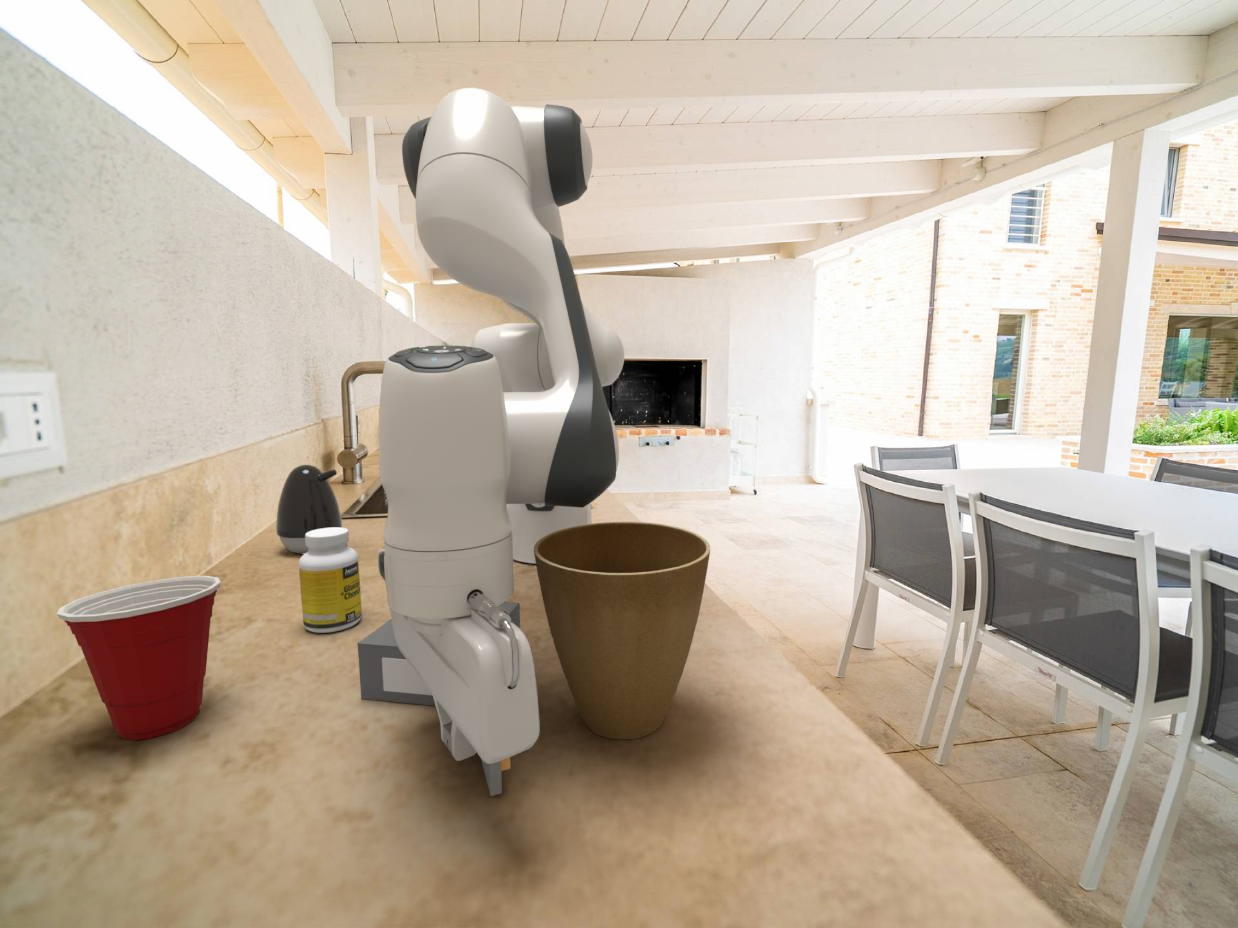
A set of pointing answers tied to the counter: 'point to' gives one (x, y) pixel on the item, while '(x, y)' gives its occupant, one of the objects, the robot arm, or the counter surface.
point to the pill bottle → (329, 581)
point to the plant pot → (622, 617)
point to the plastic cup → (147, 650)
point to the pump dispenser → (306, 506)
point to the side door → (495, 775)
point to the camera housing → (398, 666)
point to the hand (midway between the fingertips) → (459, 748)
